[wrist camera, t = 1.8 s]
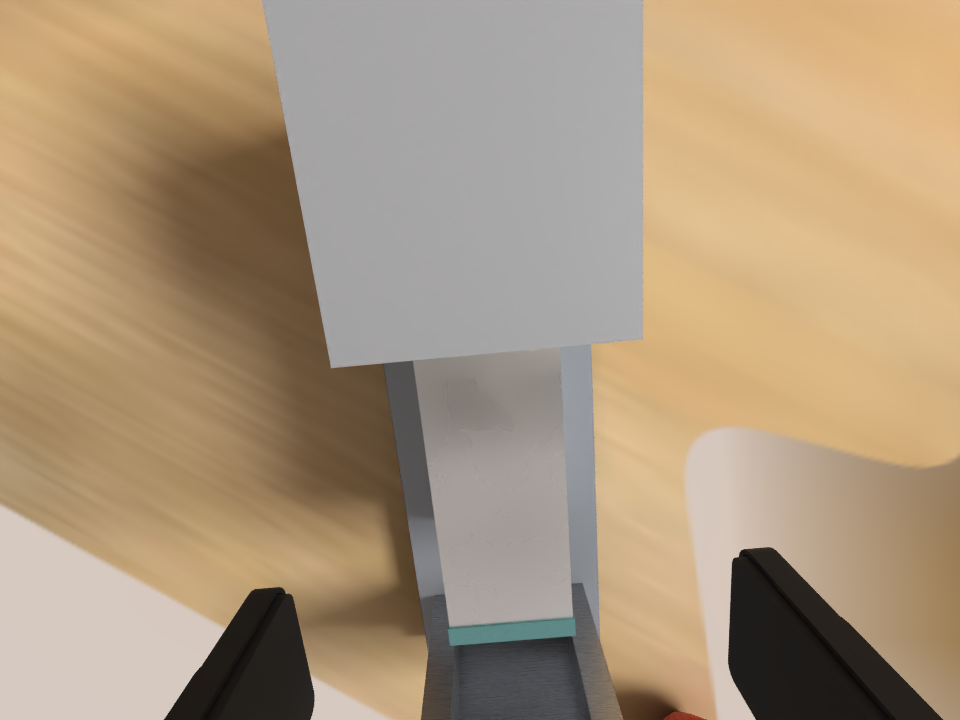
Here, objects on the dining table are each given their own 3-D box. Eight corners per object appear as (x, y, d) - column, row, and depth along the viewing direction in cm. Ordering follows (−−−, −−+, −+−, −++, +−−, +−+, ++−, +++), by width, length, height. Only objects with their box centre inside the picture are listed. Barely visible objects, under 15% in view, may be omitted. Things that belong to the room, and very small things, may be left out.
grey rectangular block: (408, 116, 16) (366, 48, 10) (520, 104, 15) (547, 29, 10) (458, 522, 20) (450, 647, 14) (546, 514, 20) (575, 636, 14)
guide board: (349, 94, 17) (211, -51, 8) (575, 71, 16) (685, -103, 8) (431, 636, 23) (404, 881, 14) (593, 623, 23) (665, 862, 14)
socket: (434, 594, 21) (411, 799, 13) (582, 582, 21) (641, 781, 13) (443, 651, 22) (425, 873, 14) (584, 639, 22) (641, 857, 14)
